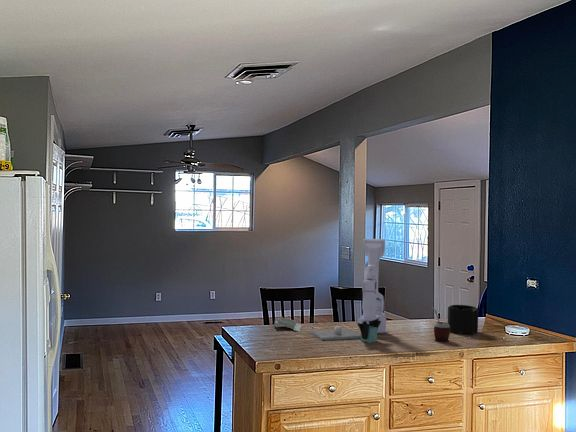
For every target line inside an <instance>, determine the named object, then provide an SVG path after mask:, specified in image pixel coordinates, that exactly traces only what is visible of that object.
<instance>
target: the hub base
mask: <svg viewBox="0 0 576 432" xmlns="http://www.w3.org/2000/svg"><path fill="white" fill-rule="evenodd" d="M311 335H313V336H314V337H316V338H317V339H319V340H321V341H339V340H341V341H342V340H343V341H344V340H358V339H359V340H361V332H360V333H359V332H358V331H356V330H354V329H342V327H341V326H339V325H335V326H334V327H333V330H332V329H330V330H328V329H327V330H312V331H311Z"/></svg>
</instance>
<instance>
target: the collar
mask: <svg viewBox="0 0 576 432" xmlns="http://www.w3.org/2000/svg"><path fill="white" fill-rule="evenodd" d="M360 341H361V342H364V343H369V344H371V343H375V342H378V333H377V327H372V326H370V327H369V330H368V337H367V339H362V335H361V339H360Z"/></svg>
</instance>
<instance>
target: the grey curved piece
mask: <svg viewBox="0 0 576 432" xmlns="http://www.w3.org/2000/svg"><path fill="white" fill-rule="evenodd" d="M276 325H280V326H283V327H286V328H290V329H291V330H293V331H295V332H298V333H299V332H301V328H302V327H303V325H302V324H300V323H297V321H296V320H294V319H290V318H284V317H283V316H282V315H281V316H279V318H278V317H275V318H274V324H272V327H273V329H275V328H276Z"/></svg>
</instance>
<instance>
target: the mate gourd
mask: <svg viewBox="0 0 576 432" xmlns="http://www.w3.org/2000/svg"><path fill="white" fill-rule="evenodd" d="M430 308H431V309H432V310H433V311H434V313H435V315H436V318H437V322H435V324H434V326H433V335H434V342H442V343H443V344H444V343H446V342H449V338H450V334H451V332H450V326H449V324H448V322H445V321H440V318H439V315H438V312H437V310H436V309H435V308H434V307H433V306H432V305H430Z"/></svg>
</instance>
